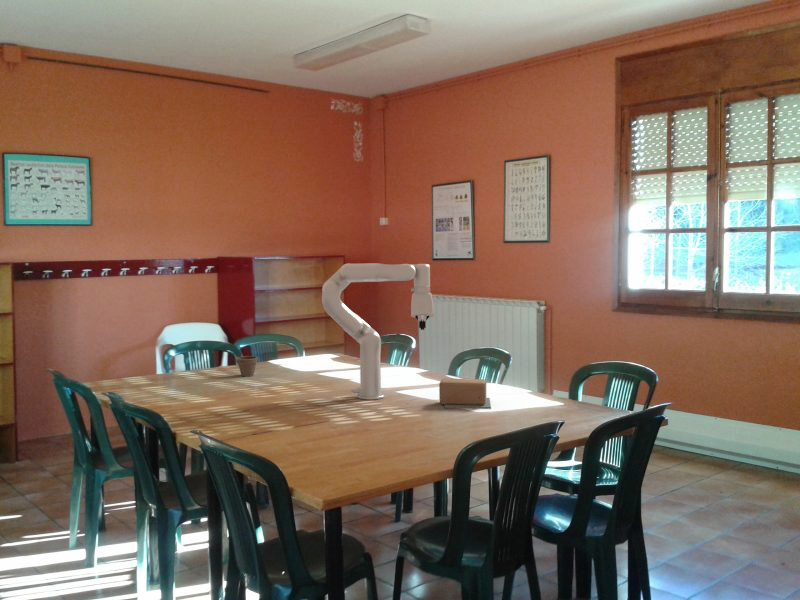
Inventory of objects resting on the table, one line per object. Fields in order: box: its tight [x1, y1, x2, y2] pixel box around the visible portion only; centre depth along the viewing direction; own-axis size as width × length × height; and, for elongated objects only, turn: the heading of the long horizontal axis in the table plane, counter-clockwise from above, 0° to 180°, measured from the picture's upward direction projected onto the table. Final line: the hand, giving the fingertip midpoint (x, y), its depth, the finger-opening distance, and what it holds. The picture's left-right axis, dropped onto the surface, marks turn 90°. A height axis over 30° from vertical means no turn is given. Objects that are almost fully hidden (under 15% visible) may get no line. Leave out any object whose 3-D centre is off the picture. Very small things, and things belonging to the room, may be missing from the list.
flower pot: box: [236, 355, 259, 378], centre depth 420 cm, size 12×11×10 cm
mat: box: [444, 397, 492, 409], centre depth 343 cm, size 20×20×1 cm
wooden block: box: [438, 378, 487, 405], centre depth 341 cm, size 10×10×20 cm
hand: (422, 329), depth 360 cm, fingers closed
